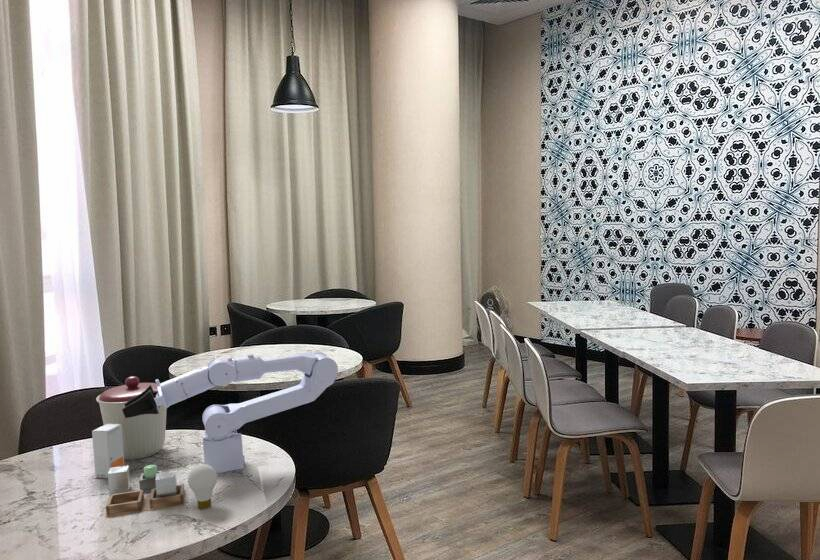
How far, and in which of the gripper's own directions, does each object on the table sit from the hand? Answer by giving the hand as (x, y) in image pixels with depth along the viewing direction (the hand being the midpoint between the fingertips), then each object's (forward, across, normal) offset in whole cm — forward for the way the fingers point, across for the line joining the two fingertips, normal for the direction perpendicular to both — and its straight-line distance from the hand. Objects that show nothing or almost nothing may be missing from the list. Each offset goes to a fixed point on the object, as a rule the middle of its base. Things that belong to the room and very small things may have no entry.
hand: (124, 410), depth 157 cm
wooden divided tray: (+2, +13, +20) cm, 24 cm away
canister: (+4, -26, +16) cm, 31 cm away
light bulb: (-9, +20, +24) cm, 33 cm away
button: (0, +3, +18) cm, 18 cm away
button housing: (+1, +3, +19) cm, 19 cm away
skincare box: (+10, -12, +15) cm, 22 cm away
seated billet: (-3, +13, +20) cm, 24 cm away
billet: (+7, +3, +17) cm, 18 cm away
